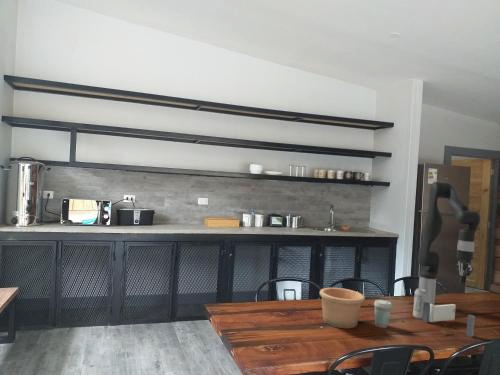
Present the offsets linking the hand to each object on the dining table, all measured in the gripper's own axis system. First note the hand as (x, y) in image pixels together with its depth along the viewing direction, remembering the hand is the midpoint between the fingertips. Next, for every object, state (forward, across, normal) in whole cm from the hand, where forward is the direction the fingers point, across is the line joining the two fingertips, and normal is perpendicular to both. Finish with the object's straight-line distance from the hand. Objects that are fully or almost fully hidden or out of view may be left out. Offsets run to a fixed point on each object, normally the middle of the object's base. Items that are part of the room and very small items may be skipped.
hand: (462, 283), depth 195 cm
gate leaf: (+22, +6, +6) cm, 24 cm away
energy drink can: (+23, +12, +15) cm, 30 cm away
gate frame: (+23, -3, +8) cm, 25 cm away
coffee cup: (+23, -6, +42) cm, 49 cm away
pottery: (+23, -5, +63) cm, 67 cm away
